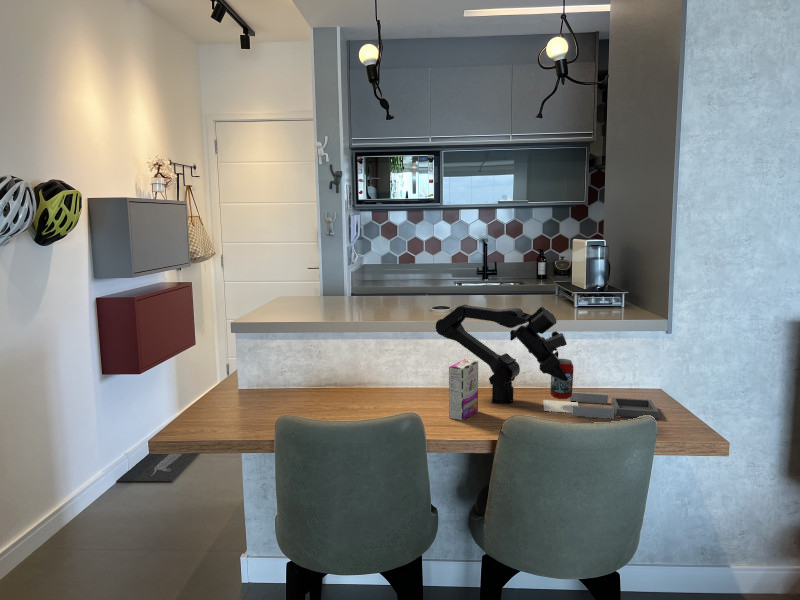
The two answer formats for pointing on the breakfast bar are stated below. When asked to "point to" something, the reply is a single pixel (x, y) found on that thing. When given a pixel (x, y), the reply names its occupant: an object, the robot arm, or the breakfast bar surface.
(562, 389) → the beverage can
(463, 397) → the candy bar box
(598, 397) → the channel walls
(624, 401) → the box
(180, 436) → the breakfast bar surface
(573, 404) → the pad
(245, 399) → the breakfast bar surface
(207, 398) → the breakfast bar surface
